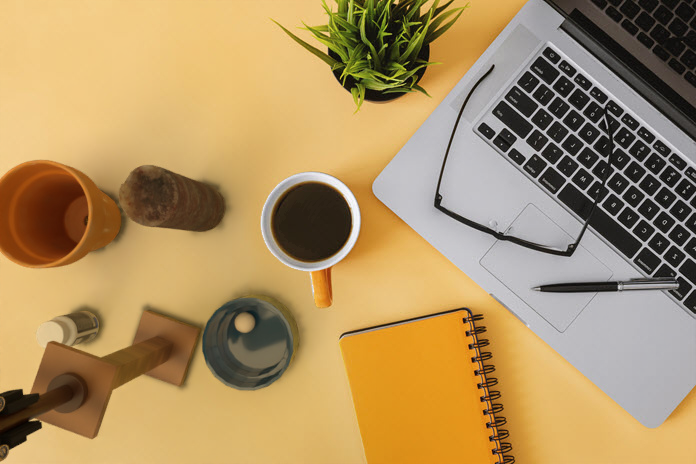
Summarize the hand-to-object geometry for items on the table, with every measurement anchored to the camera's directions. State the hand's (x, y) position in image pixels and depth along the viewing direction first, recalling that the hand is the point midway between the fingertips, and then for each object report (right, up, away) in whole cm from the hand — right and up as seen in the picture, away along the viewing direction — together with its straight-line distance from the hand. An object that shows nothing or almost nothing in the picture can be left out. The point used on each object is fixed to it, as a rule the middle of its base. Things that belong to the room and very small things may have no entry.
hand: (24, 412), depth 44 cm
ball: (+14, +3, +28) cm, 31 cm away
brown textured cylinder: (+7, +20, +31) cm, 38 cm away
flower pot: (-10, +18, +32) cm, 38 cm away
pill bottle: (-11, +2, +31) cm, 33 cm away
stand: (+1, -1, +30) cm, 30 cm away
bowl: (+16, 0, +29) cm, 33 cm away
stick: (0, 0, +7) cm, 7 cm away
